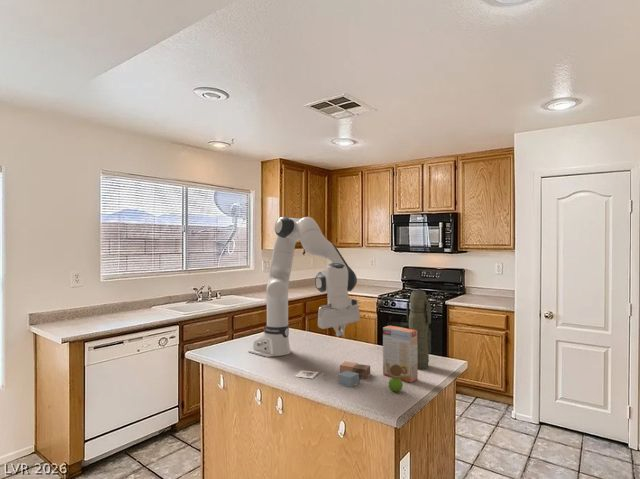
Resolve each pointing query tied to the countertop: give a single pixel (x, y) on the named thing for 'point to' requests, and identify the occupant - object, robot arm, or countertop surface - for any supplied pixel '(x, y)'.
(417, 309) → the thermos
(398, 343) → the cracker box
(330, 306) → the robot arm
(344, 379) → the slate block
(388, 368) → the snail figurine
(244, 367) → the countertop surface
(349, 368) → the terracotta block
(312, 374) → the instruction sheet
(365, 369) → the base block
